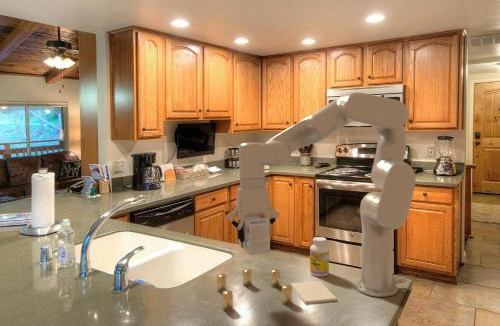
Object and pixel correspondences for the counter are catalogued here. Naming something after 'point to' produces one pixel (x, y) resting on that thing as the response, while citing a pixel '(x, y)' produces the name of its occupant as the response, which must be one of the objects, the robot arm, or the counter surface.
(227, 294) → the brass cylinders
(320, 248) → the supplement bottle
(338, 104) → the robot arm
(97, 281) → the counter surface
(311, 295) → the plate
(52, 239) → the counter surface
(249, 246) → the light bulb box
